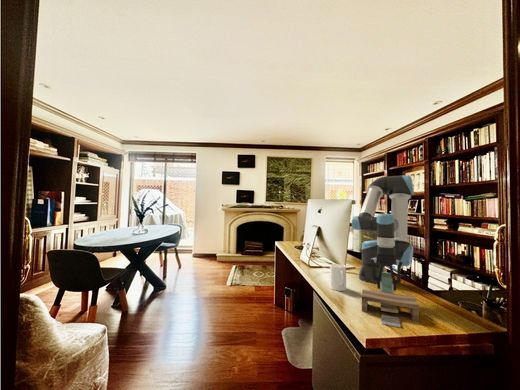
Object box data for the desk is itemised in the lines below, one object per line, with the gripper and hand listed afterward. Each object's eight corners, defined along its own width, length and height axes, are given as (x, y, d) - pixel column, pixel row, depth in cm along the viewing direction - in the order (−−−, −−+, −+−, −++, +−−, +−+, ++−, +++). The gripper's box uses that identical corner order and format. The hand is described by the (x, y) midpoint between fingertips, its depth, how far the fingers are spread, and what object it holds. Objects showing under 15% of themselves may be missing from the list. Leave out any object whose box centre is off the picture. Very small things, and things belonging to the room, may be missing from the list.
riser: (362, 302, 109) (362, 289, 109) (414, 311, 101) (414, 296, 101) (361, 311, 100) (361, 296, 100) (418, 321, 92) (418, 305, 92)
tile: (381, 318, 95) (381, 314, 95) (398, 322, 92) (398, 317, 92) (381, 325, 89) (381, 320, 89) (400, 328, 87) (400, 324, 87)
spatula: (379, 297, 116) (379, 271, 117) (393, 299, 113) (393, 273, 115) (381, 310, 98) (380, 279, 99) (398, 313, 95) (397, 281, 97)
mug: (350, 293, 121) (350, 269, 121) (333, 293, 121) (333, 268, 122) (344, 286, 132) (343, 263, 133) (328, 285, 133) (328, 263, 134)
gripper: (366, 246, 115) (366, 296, 114) (407, 249, 108) (409, 302, 107) (366, 243, 122) (367, 291, 120) (405, 246, 114) (406, 296, 113)
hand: (386, 296), depth 114 cm, fingers closed on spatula, 4 cm apart
